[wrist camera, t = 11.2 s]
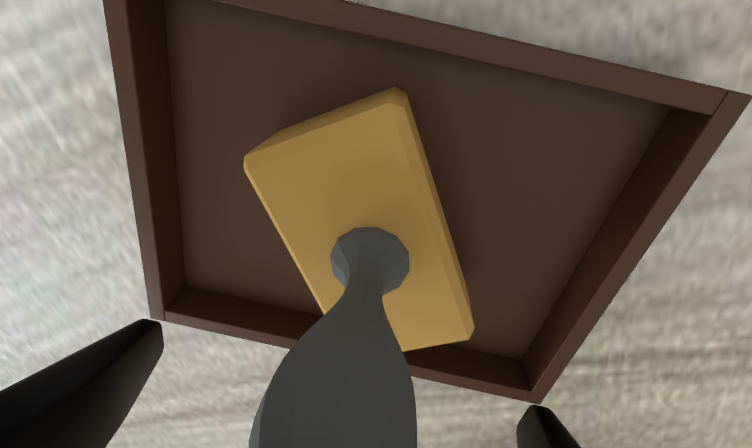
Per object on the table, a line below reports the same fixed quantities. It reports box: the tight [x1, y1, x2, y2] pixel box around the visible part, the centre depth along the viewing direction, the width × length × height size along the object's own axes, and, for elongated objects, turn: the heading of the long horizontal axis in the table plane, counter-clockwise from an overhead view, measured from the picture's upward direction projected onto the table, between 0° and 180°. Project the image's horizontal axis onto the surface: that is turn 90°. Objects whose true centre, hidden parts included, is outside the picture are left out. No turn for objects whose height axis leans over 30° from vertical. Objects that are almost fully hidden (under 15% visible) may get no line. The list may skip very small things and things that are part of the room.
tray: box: [103, 0, 752, 404], centre depth 16 cm, size 21×16×3 cm
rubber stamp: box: [243, 86, 475, 448], centre depth 11 cm, size 10×6×12 cm, turn 21°
